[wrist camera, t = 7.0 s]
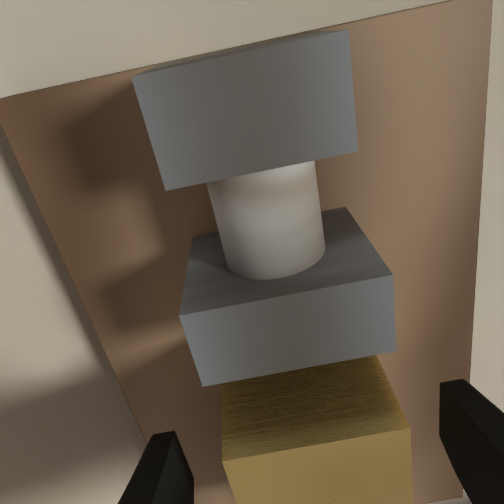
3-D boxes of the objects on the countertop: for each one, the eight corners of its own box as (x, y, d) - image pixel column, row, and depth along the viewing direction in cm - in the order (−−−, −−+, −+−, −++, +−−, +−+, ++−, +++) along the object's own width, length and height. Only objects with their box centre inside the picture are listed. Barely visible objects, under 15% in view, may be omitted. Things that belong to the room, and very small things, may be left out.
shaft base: (466, -4, 11) (637, -33, 6) (449, 471, 19) (516, 601, 15) (12, 95, 11) (-131, 133, 7) (194, 515, 20) (184, 654, 15)
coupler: (348, 295, 13) (410, 427, 9) (358, 388, 15) (413, 536, 11) (223, 319, 13) (221, 461, 9) (248, 408, 15) (257, 562, 11)
